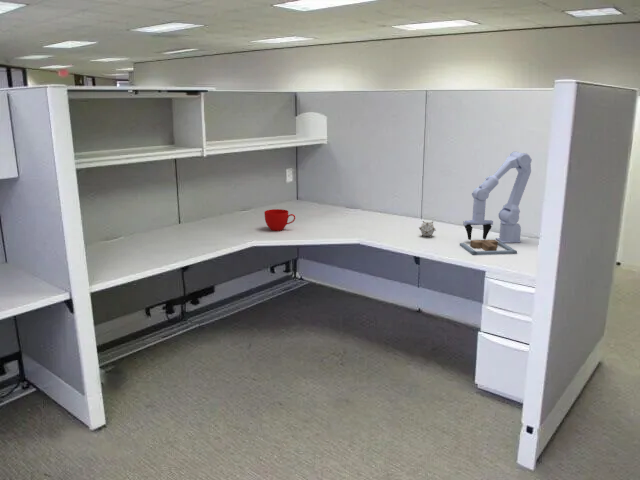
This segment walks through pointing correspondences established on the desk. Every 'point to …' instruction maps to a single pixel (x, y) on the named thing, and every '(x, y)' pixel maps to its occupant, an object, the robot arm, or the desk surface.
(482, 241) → the walnut T-block
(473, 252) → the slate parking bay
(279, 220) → the ceramic cup
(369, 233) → the desk surface
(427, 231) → the grey spiky ball
